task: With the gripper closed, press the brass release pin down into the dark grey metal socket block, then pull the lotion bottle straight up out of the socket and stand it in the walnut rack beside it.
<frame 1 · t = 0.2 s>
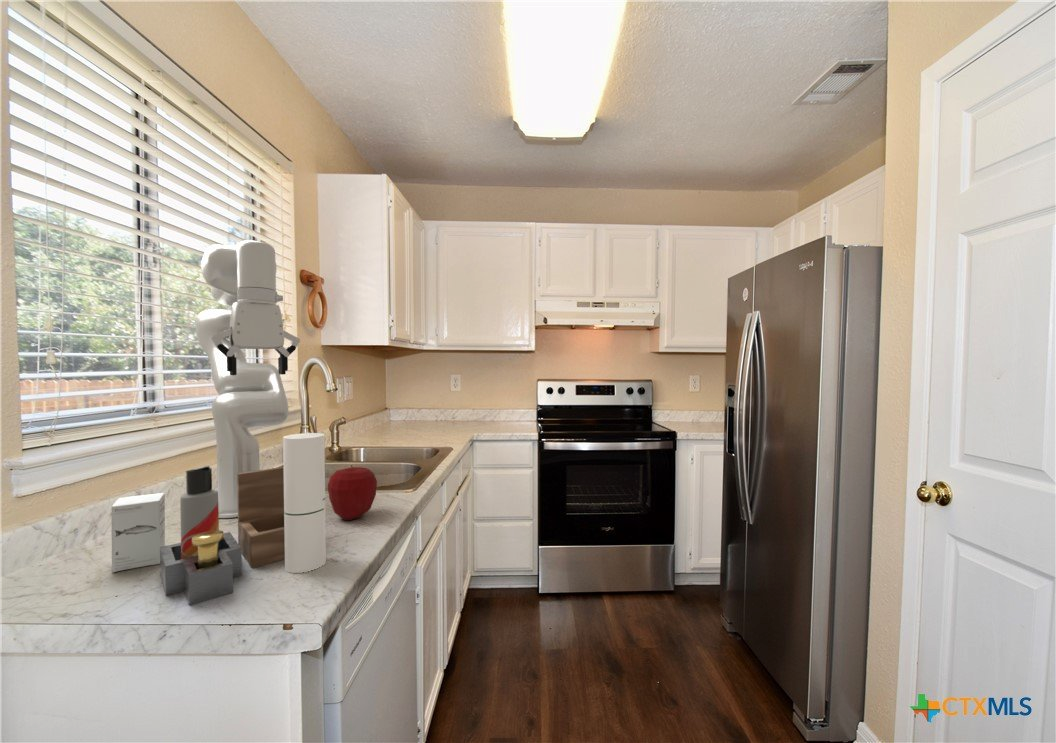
hand: (258, 374, 102), 37 cm above the worktop, tool pointing down, fingers open, 9 cm apart
cylindrical container: (305, 565, 88), on the worktop
supplement box: (140, 563, 90), on the worktop
socket: (200, 574, 84), on the worktop
apple: (353, 518, 115), on the worktop
lotion bottle: (200, 575, 84), resting in socket
rack: (276, 551, 94), on the worktop
release pin: (208, 551, 77), point 7 cm above the worktop, slide at 0.0 cm
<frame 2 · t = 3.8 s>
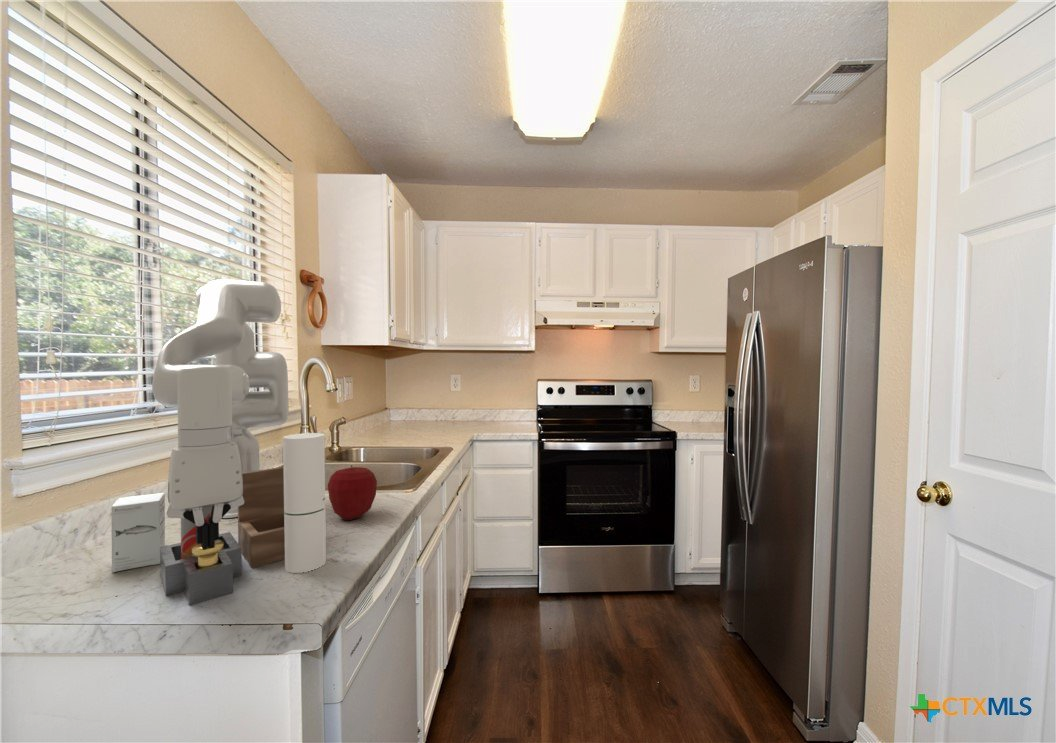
hand: (207, 545, 77), 8 cm above the worktop, tool pointing down, fingers closed
release pin: (208, 562, 77), point 5 cm above the worktop, slide at 1.8 cm
everything else where it was.
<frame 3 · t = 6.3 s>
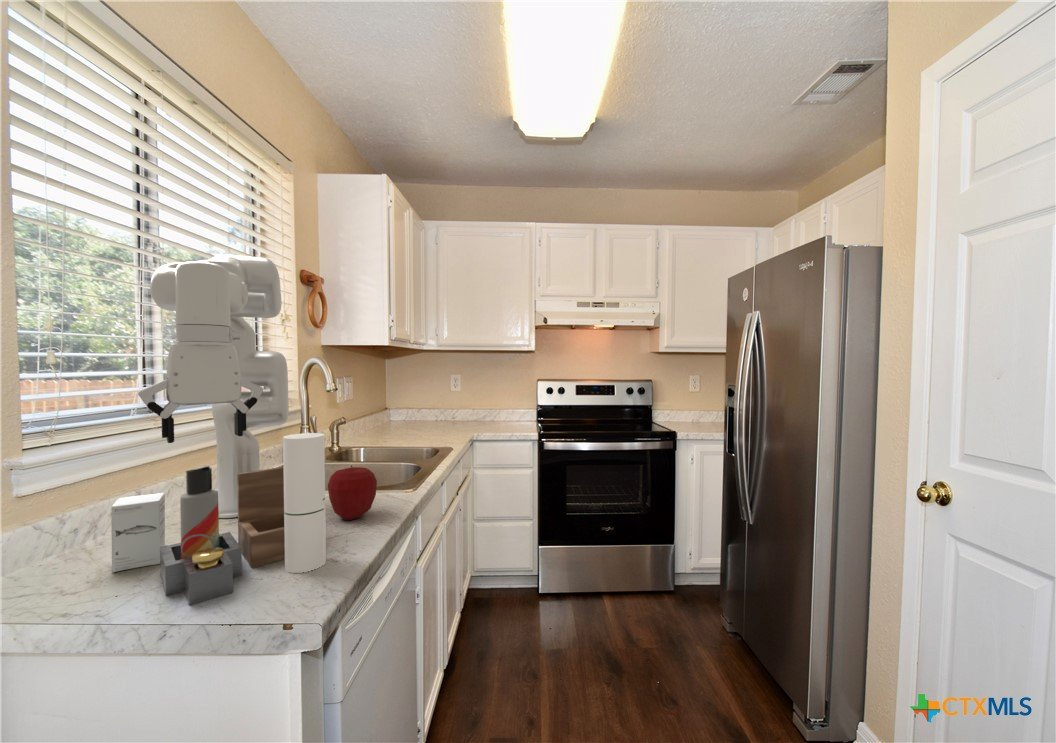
hand: (206, 438, 77), 26 cm above the worktop, tool pointing down, fingers open, 9 cm apart
release pin: (208, 569, 77), point 4 cm above the worktop, slide at 3.0 cm
everything else where it was.
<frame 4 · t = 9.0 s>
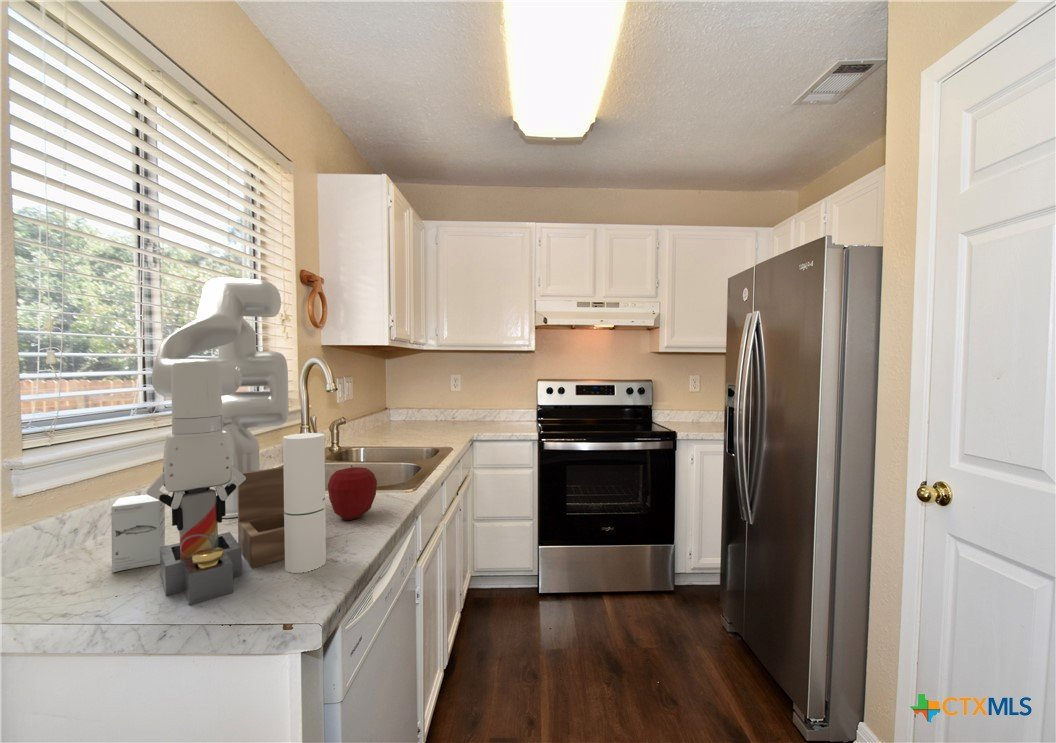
hand: (199, 523, 84), 9 cm above the worktop, tool pointing down, fingers closed on lotion bottle, 5 cm apart
lotion bottle: (200, 575, 84), resting in socket, touching gripper
everything else where it was.
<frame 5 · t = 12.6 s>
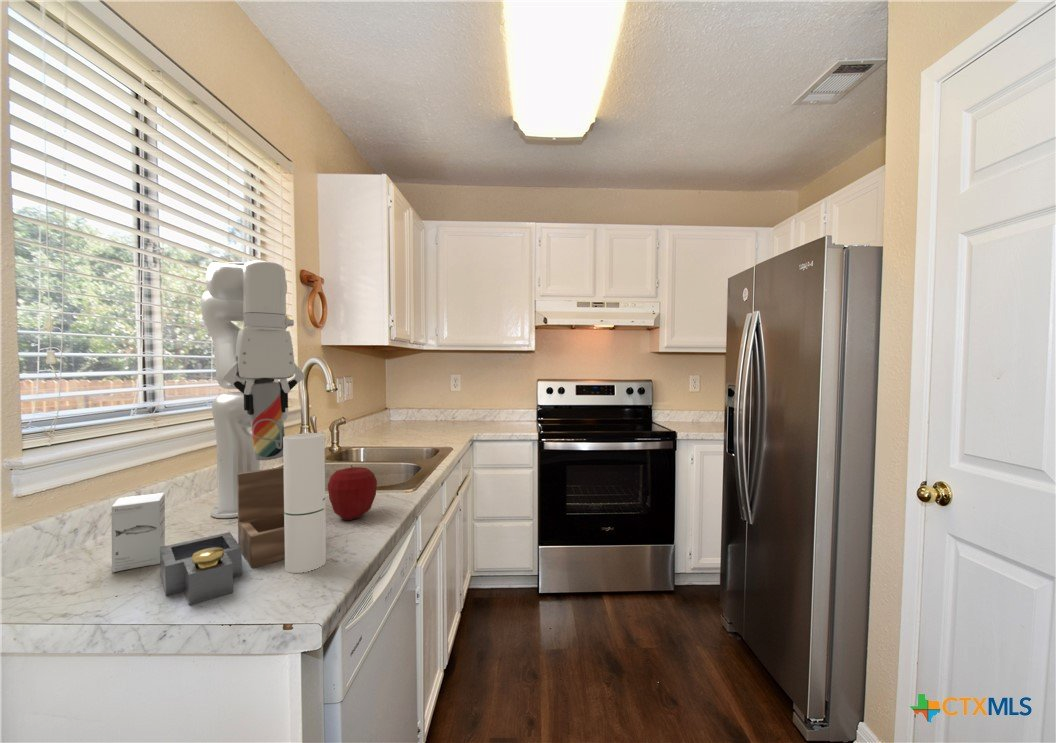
hand: (266, 412, 93), 29 cm above the worktop, tool pointing down, fingers closed on lotion bottle, 5 cm apart
lotion bottle: (270, 458, 93), point 20 cm above the worktop, touching gripper
everything else where it was.
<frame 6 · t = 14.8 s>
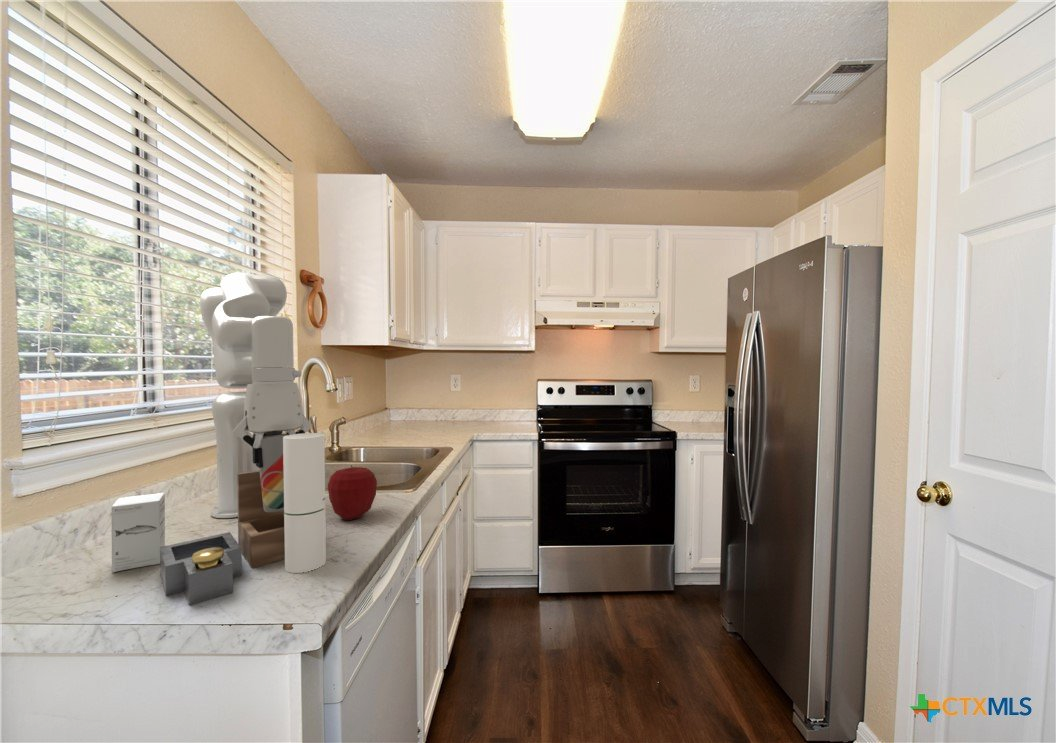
hand: (274, 463, 94), 18 cm above the worktop, tool pointing down, fingers closed on lotion bottle, 5 cm apart
lotion bottle: (279, 508, 95), point 9 cm above the worktop, touching gripper
everything else where it was.
when the fingers open (12 cm above the worktop, at t = 16.4 s): lotion bottle drops 2 cm, resting on rack.
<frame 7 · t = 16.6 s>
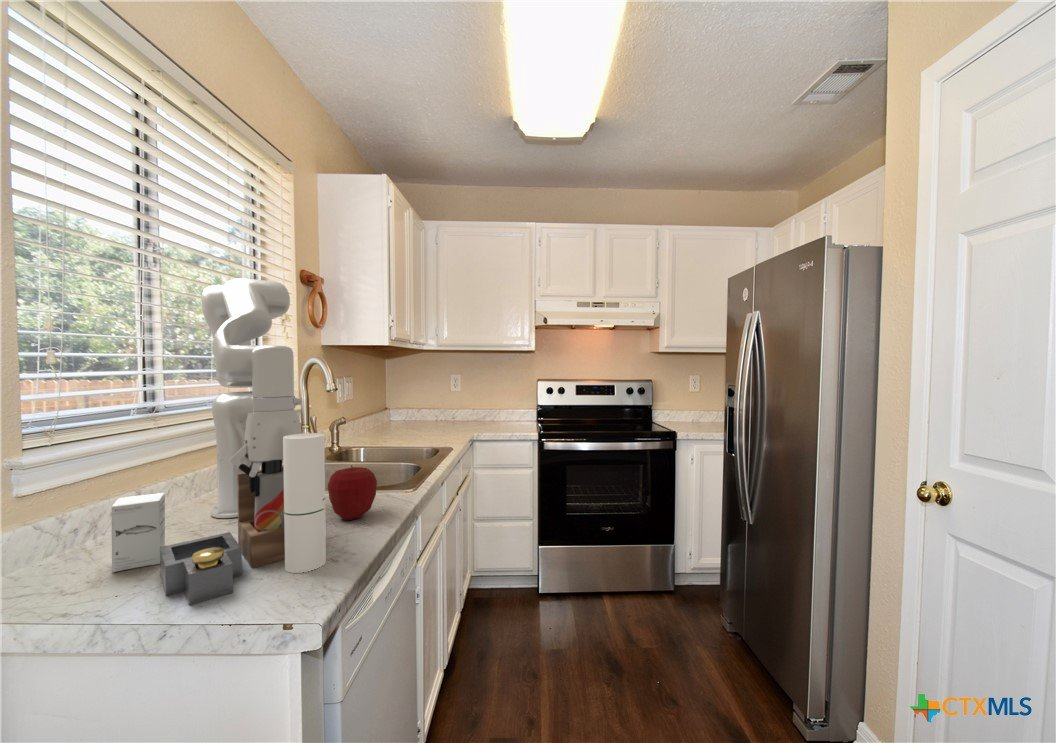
hand: (275, 490, 94), 13 cm above the worktop, tool pointing down, fingers open, 6 cm apart
lotion bottle: (269, 548, 94), point 1 cm above the worktop, touching gripper, rack
everything else where it was.
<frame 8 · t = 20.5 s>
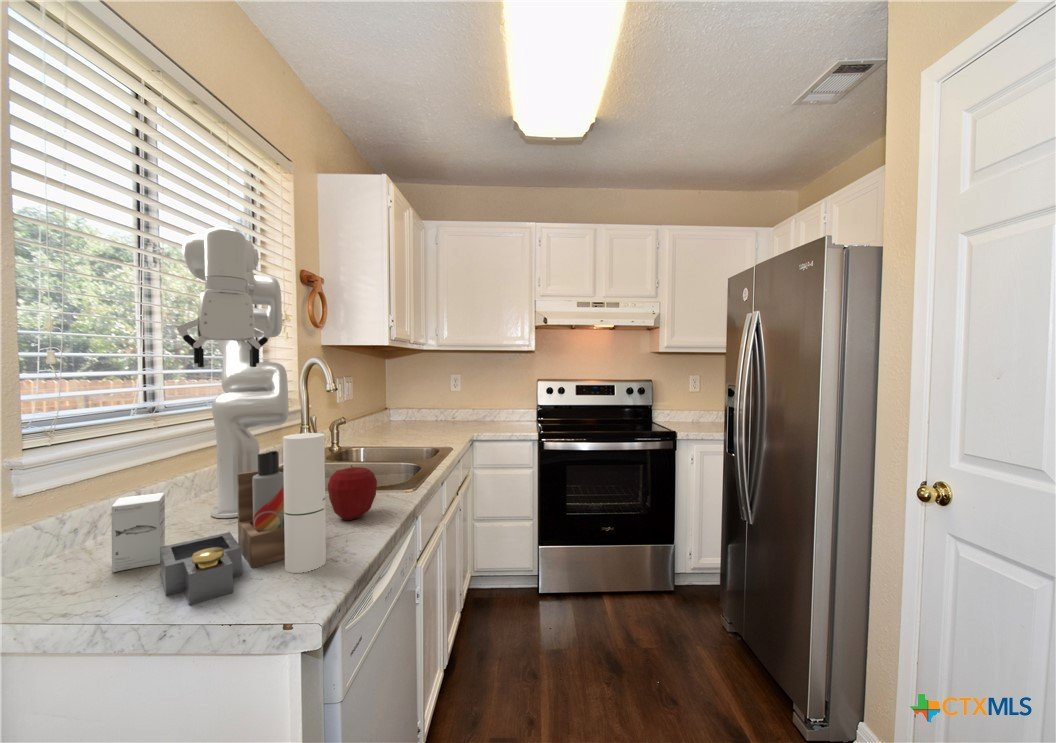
hand: (227, 367, 98), 38 cm above the worktop, tool pointing down, fingers open, 9 cm apart
lotion bottle: (269, 548, 94), point 1 cm above the worktop, touching rack
everything else where it was.
at the end: release pin slide at 3.0 cm; lotion bottle 1.1 cm off-centre on the rack, point 0.8 cm above the rack's base; lotion bottle tilted 0° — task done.
